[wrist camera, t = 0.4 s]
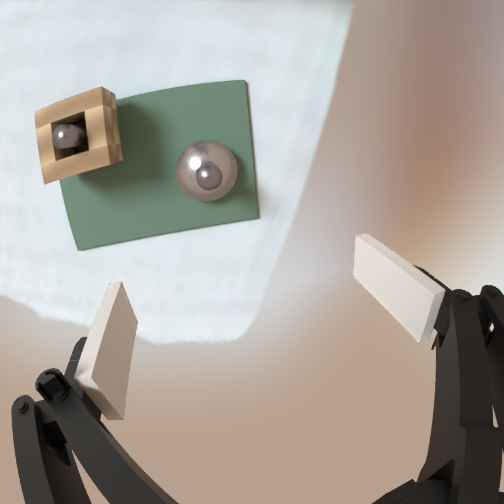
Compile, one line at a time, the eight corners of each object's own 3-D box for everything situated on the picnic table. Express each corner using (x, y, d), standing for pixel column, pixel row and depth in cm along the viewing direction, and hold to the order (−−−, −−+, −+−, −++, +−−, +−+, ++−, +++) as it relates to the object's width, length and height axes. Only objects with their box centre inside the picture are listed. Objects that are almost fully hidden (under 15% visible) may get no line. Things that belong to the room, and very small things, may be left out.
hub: (172, 145, 34) (167, 147, 26) (232, 136, 35) (242, 137, 28) (181, 202, 37) (178, 219, 30) (238, 193, 38) (249, 207, 31)
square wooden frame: (55, 113, 26) (34, 111, 20) (115, 93, 27) (101, 86, 22) (64, 176, 30) (44, 184, 24) (123, 159, 31) (110, 164, 26)
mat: (52, 121, 28) (50, 121, 27) (244, 80, 32) (244, 79, 32) (78, 249, 36) (77, 250, 36) (257, 217, 41) (257, 217, 40)
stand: (68, 118, 28) (33, 116, 19) (112, 104, 29) (87, 95, 20) (74, 165, 31) (41, 176, 22) (118, 153, 32) (94, 159, 23)
